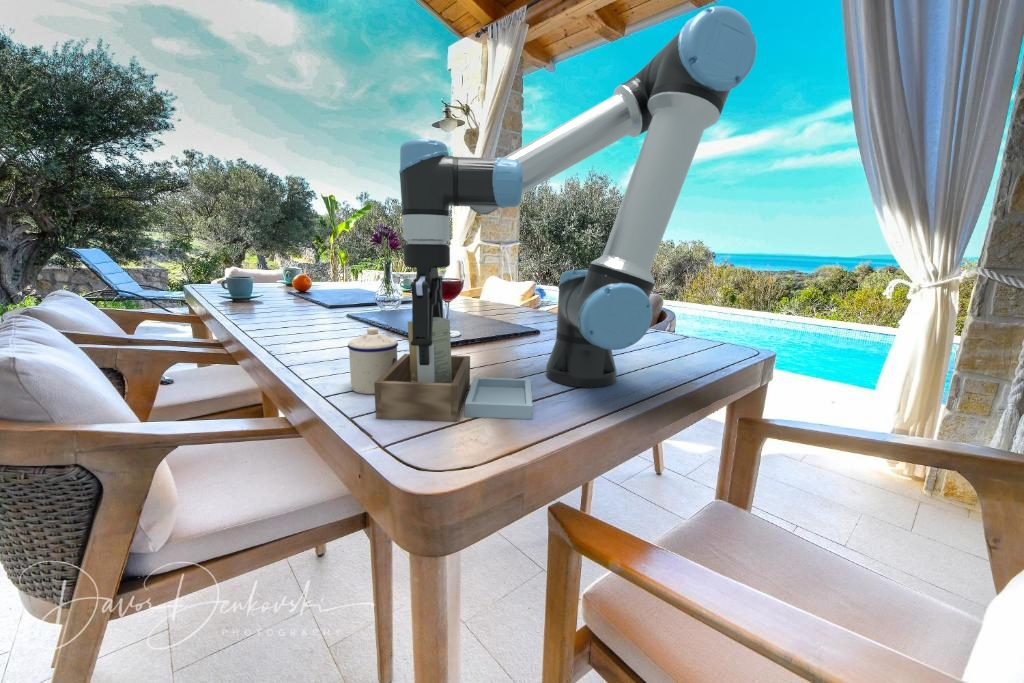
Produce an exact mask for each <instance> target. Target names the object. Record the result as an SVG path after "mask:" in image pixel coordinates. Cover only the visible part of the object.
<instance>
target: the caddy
mask: <svg viewBox="0 0 1024 683" xmlns="http://www.w3.org/2000/svg"><path fill="white" fill-rule="evenodd" d="M451 366H452V383H425V382H411V369H410V353H403V355H402V356H401V357H400V358H398V359H397V362H396V363H395V364H393V365H392V366H391V367H390V368H389V369H388V370H387V371H386V372H385V373H384V374H383V375H382V376H381V377H380V378H379V379H378V380H377V381H376V382H375V383H374V387H375V394H374V404H375V405H374V407H375V408H374V410H375V419H381V420H382V419H384V420H409V421H433V422H435V421H436V422H458V420H459V417H460V414H461V412H462V409H461V408H463V406H462V405H464V404H465V401H466V398H467V395H468V392H469V389H470V386H471V382H470V381H471V355H452V354H451ZM469 385H470V386H469ZM468 388H469V389H468ZM460 411H461V412H460Z"/></svg>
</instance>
